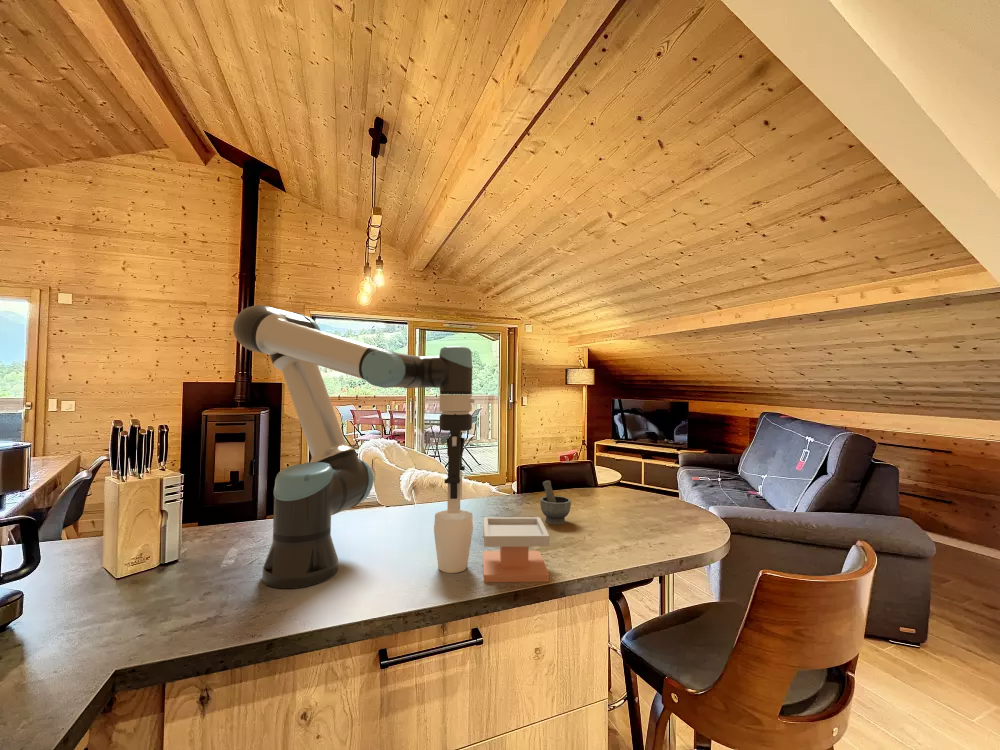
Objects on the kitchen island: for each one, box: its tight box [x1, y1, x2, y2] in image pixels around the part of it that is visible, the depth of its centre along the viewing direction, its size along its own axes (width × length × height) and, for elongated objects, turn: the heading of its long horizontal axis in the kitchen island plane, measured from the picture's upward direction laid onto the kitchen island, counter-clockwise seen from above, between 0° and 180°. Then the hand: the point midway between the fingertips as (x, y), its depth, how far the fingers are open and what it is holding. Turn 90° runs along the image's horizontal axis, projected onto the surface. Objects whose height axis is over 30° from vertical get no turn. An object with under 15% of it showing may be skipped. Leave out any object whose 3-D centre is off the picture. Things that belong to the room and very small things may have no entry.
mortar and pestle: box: [539, 480, 572, 526], centre depth 139 cm, size 11×9×12 cm
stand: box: [482, 516, 550, 583], centre depth 102 cm, size 14×14×10 cm
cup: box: [433, 509, 474, 574], centre depth 102 cm, size 9×9×12 cm
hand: (455, 505), depth 102 cm, fingers open, 13 cm apart
